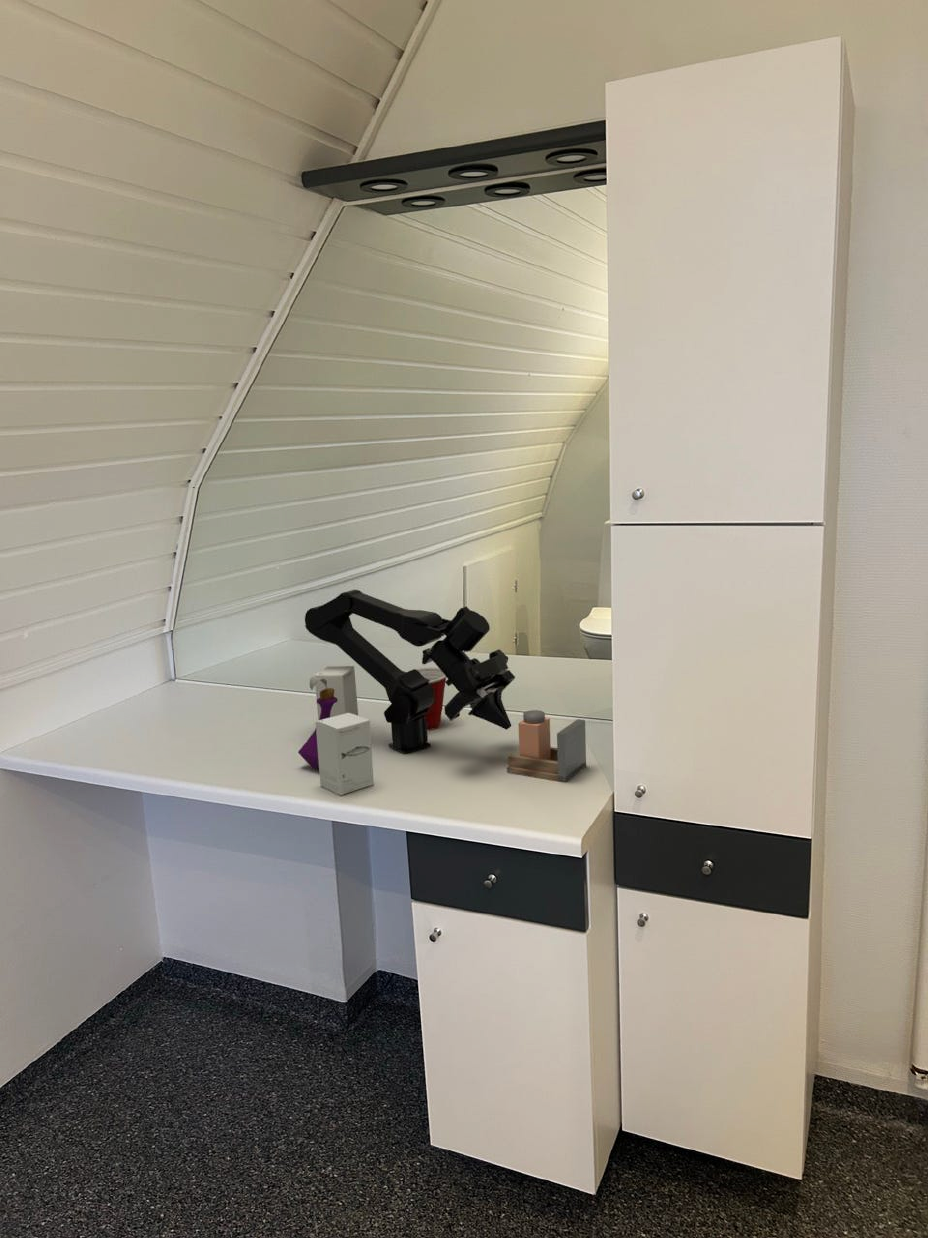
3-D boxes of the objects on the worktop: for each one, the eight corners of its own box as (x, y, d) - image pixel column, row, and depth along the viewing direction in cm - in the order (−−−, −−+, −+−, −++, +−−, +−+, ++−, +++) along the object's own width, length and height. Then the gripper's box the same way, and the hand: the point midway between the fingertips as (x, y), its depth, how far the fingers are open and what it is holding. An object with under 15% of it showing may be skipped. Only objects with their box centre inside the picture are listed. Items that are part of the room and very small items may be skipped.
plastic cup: (391, 727, 205) (387, 674, 202) (429, 715, 212) (426, 664, 209) (422, 737, 197) (419, 682, 194) (461, 725, 204) (458, 672, 201)
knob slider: (519, 764, 175) (518, 716, 173) (532, 755, 179) (530, 708, 178) (539, 767, 173) (537, 718, 171) (550, 758, 177) (549, 711, 175)
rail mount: (507, 772, 175) (505, 726, 173) (529, 757, 182) (527, 712, 180) (565, 782, 168) (564, 734, 167) (586, 766, 176) (585, 720, 174)
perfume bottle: (327, 756, 188) (320, 669, 184) (353, 764, 183) (347, 674, 179) (298, 768, 182) (291, 678, 179) (324, 775, 177) (317, 683, 174)
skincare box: (348, 749, 192) (343, 675, 189) (318, 748, 193) (312, 675, 190) (361, 735, 200) (356, 664, 197) (331, 735, 201) (326, 664, 198)
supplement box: (340, 796, 167) (335, 729, 164) (319, 786, 172) (314, 720, 170) (375, 785, 171) (370, 719, 169) (353, 775, 177) (348, 711, 174)
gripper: (455, 650, 169) (511, 716, 166) (504, 629, 185) (556, 689, 182) (421, 688, 175) (475, 752, 172) (472, 664, 191) (522, 723, 187)
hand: (509, 727), depth 178 cm, fingers closed
